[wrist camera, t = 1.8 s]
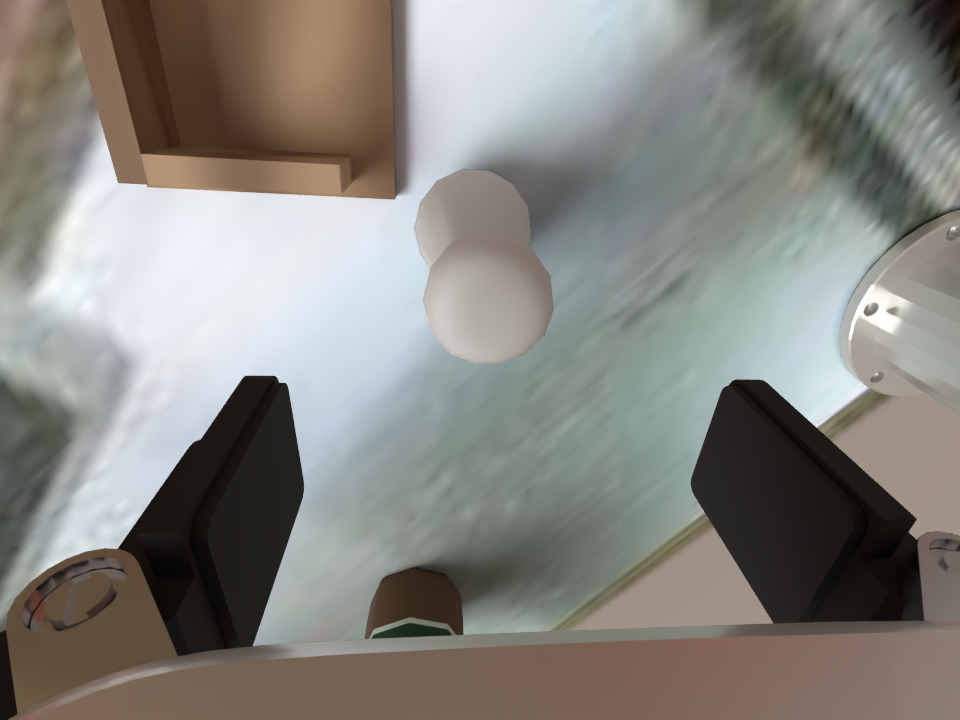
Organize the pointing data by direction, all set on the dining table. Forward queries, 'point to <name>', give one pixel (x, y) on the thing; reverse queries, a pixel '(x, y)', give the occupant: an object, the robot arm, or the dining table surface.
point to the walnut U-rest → (245, 93)
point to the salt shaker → (481, 268)
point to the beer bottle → (415, 606)
